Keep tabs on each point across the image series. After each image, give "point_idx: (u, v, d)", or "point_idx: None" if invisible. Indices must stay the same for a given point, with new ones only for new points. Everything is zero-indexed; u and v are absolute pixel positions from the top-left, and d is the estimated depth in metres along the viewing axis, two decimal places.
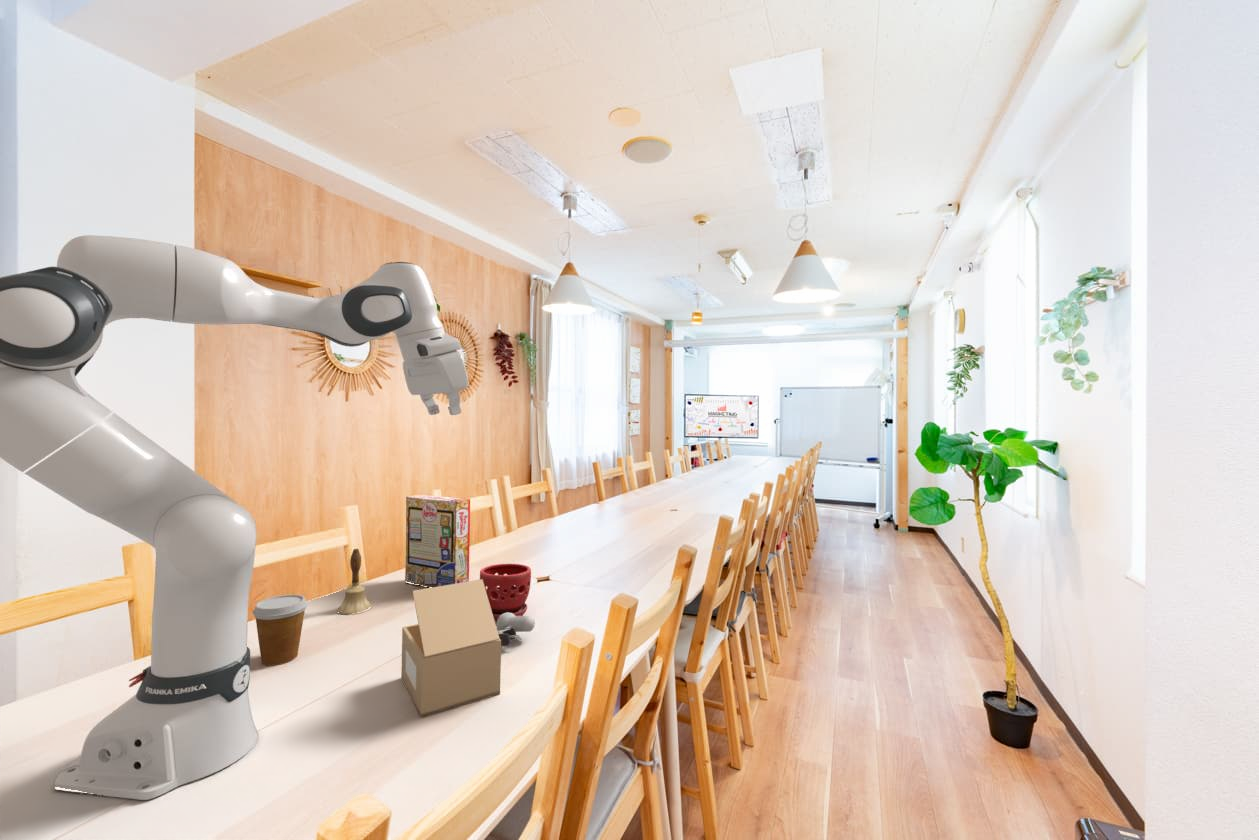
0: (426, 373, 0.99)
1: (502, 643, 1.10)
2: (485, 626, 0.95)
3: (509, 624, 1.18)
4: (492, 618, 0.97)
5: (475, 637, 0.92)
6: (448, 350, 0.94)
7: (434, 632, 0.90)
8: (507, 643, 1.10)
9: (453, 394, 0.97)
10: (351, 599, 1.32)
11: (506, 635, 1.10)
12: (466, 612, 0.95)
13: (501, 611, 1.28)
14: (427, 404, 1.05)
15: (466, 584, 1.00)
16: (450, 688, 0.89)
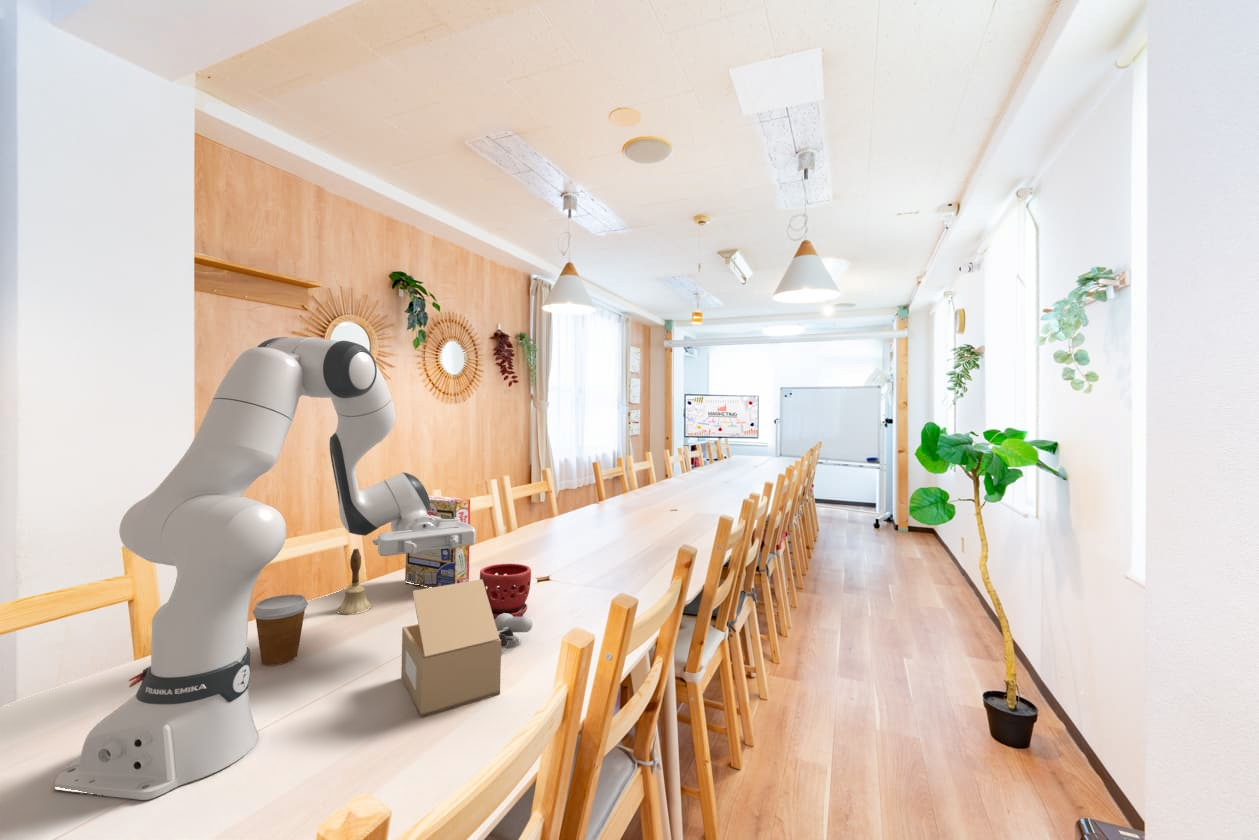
0: None
1: None
2: (485, 626, 0.95)
3: (506, 625, 1.18)
4: (492, 618, 0.97)
5: (475, 637, 0.92)
6: None
7: (434, 632, 0.90)
8: (504, 644, 1.09)
9: None
10: (351, 599, 1.32)
11: (503, 636, 1.09)
12: (466, 612, 0.95)
13: (501, 611, 1.28)
14: None
15: (466, 584, 1.00)
16: (450, 688, 0.89)
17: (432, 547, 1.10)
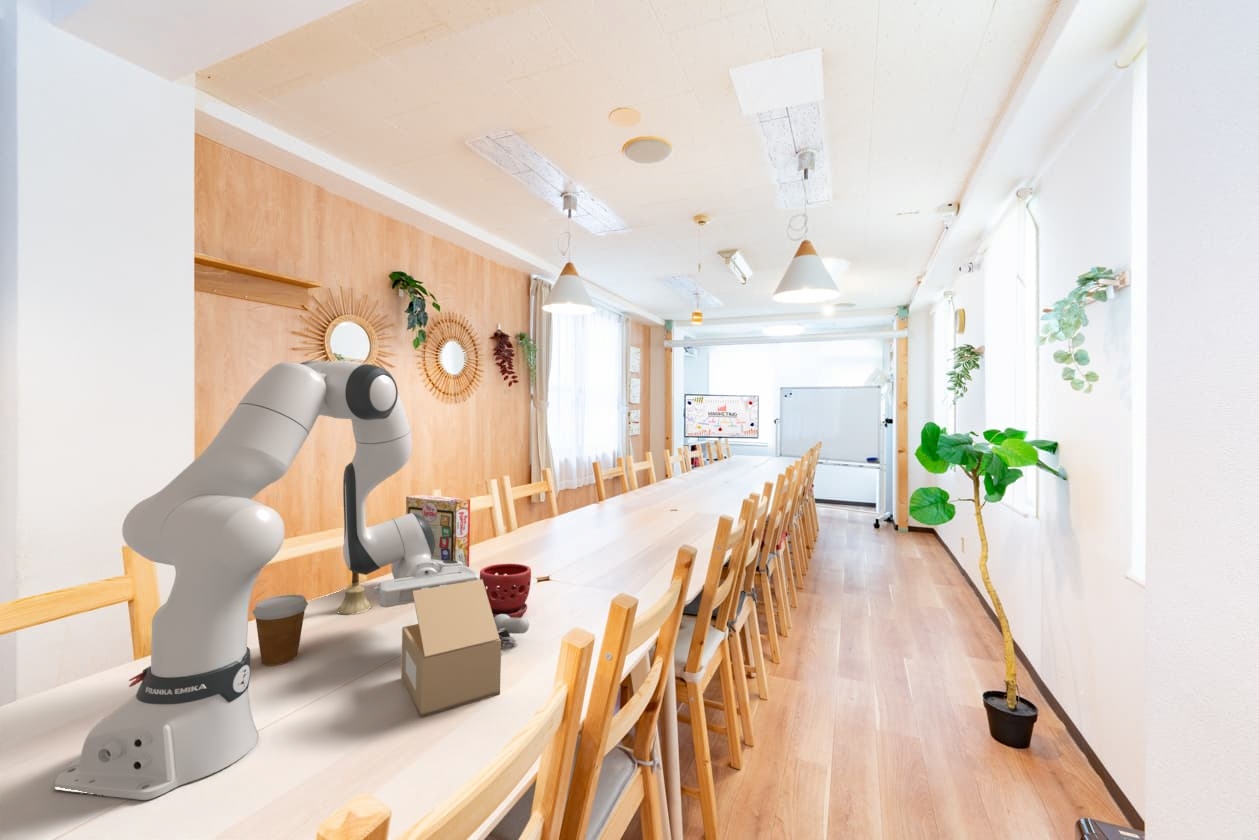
0: (432, 578, 1.10)
1: None
2: (485, 626, 0.95)
3: (503, 626, 1.17)
4: (492, 618, 0.97)
5: (475, 637, 0.92)
6: None
7: (434, 632, 0.90)
8: None
9: None
10: (351, 599, 1.32)
11: (499, 637, 1.09)
12: (466, 612, 0.95)
13: (501, 611, 1.28)
14: None
15: (466, 584, 1.00)
16: (450, 688, 0.89)
17: None
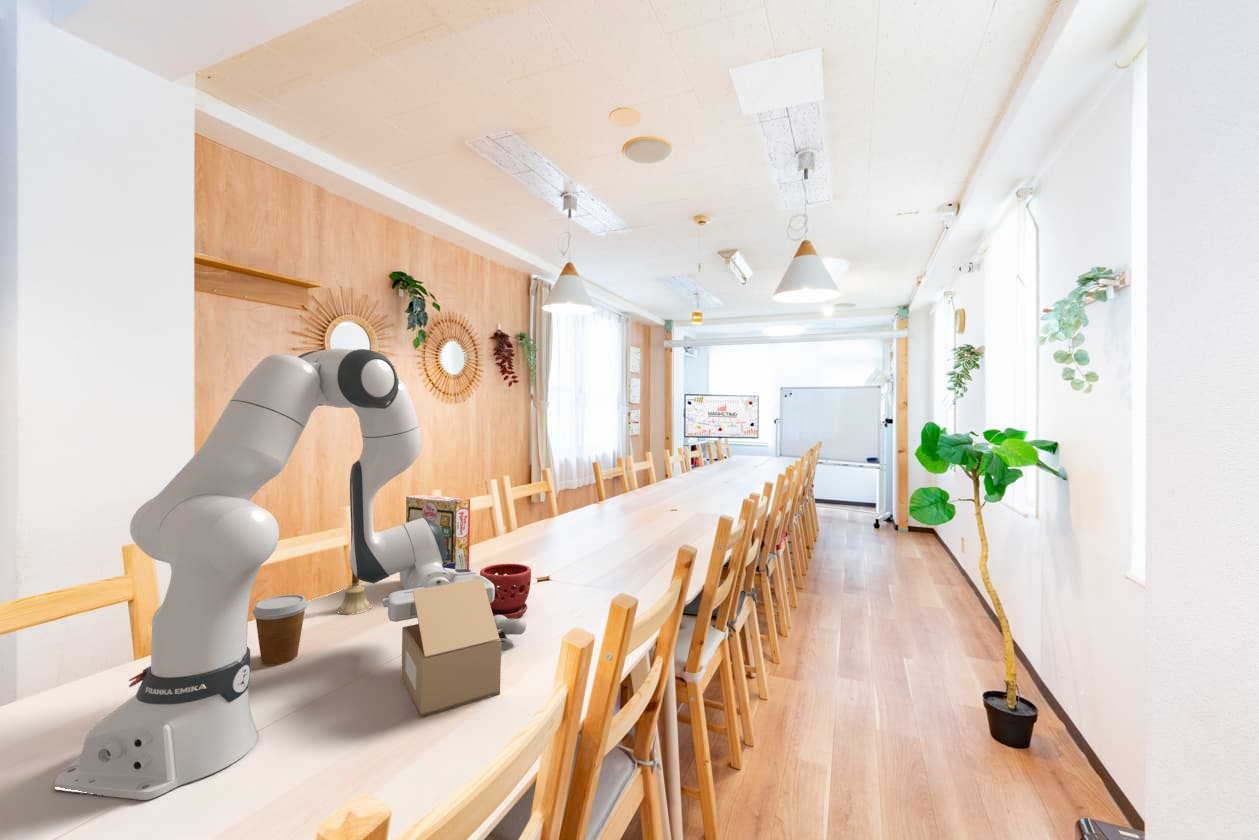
0: None
1: None
2: (485, 626, 0.95)
3: (500, 627, 1.16)
4: (492, 618, 0.96)
5: (475, 637, 0.92)
6: None
7: (434, 632, 0.90)
8: None
9: None
10: (351, 599, 1.32)
11: None
12: (466, 612, 0.95)
13: (501, 611, 1.28)
14: None
15: (466, 583, 1.00)
16: (450, 688, 0.89)
17: None
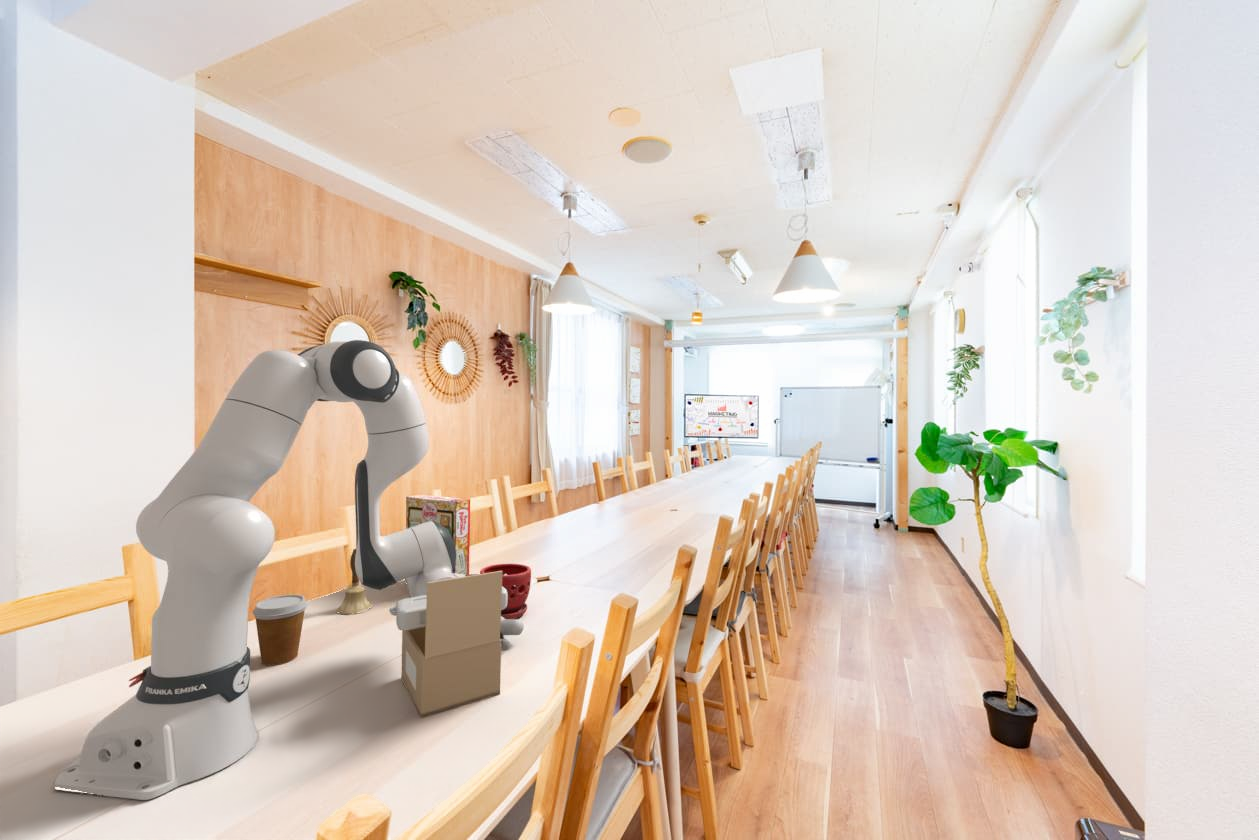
0: None
1: None
2: (490, 627, 0.93)
3: None
4: (499, 618, 0.94)
5: (477, 639, 0.91)
6: None
7: (439, 632, 0.87)
8: None
9: None
10: (351, 599, 1.32)
11: None
12: (476, 611, 0.91)
13: (501, 611, 1.28)
14: None
15: (484, 577, 0.92)
16: (450, 688, 0.89)
17: None
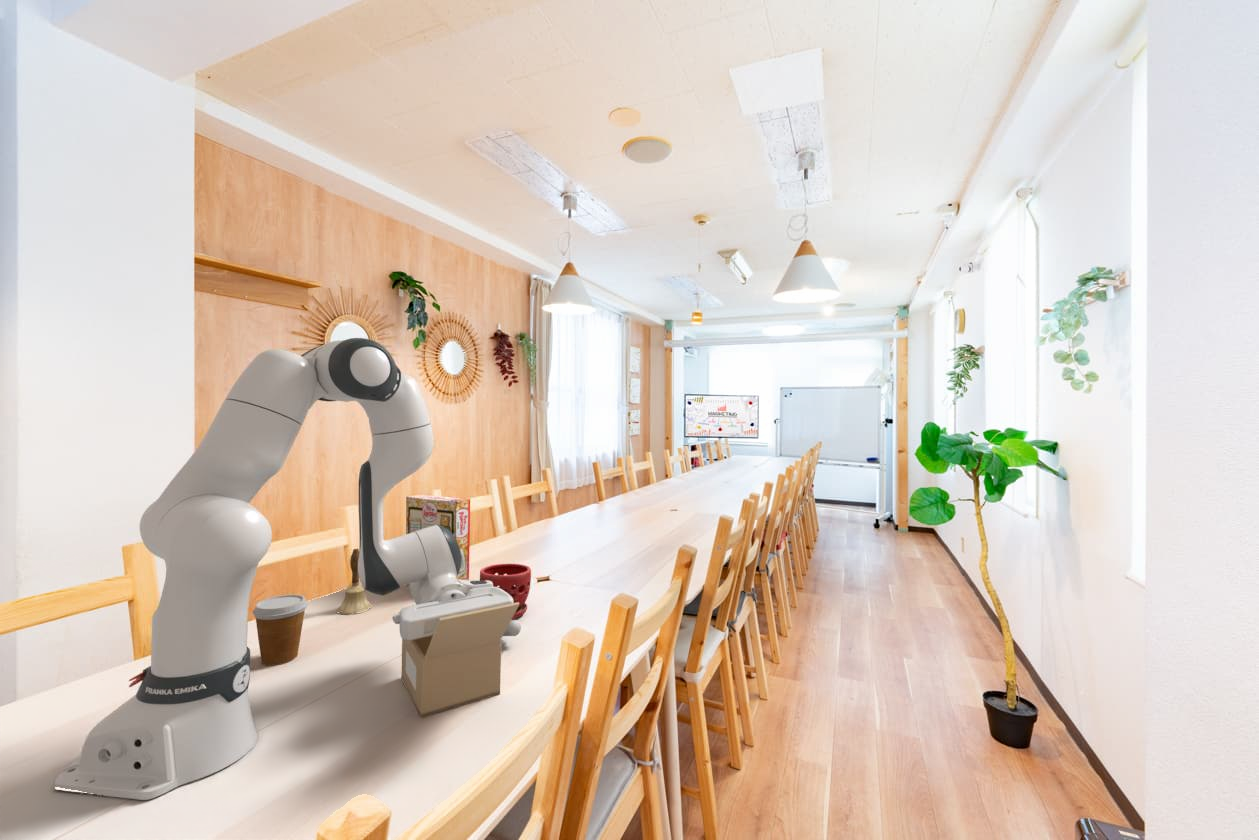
0: (459, 603, 0.95)
1: None
2: (493, 636, 0.91)
3: None
4: (504, 630, 0.92)
5: (478, 644, 0.91)
6: None
7: (443, 645, 0.85)
8: None
9: None
10: (351, 599, 1.32)
11: None
12: (483, 629, 0.88)
13: None
14: None
15: (499, 609, 0.85)
16: (450, 688, 0.89)
17: None
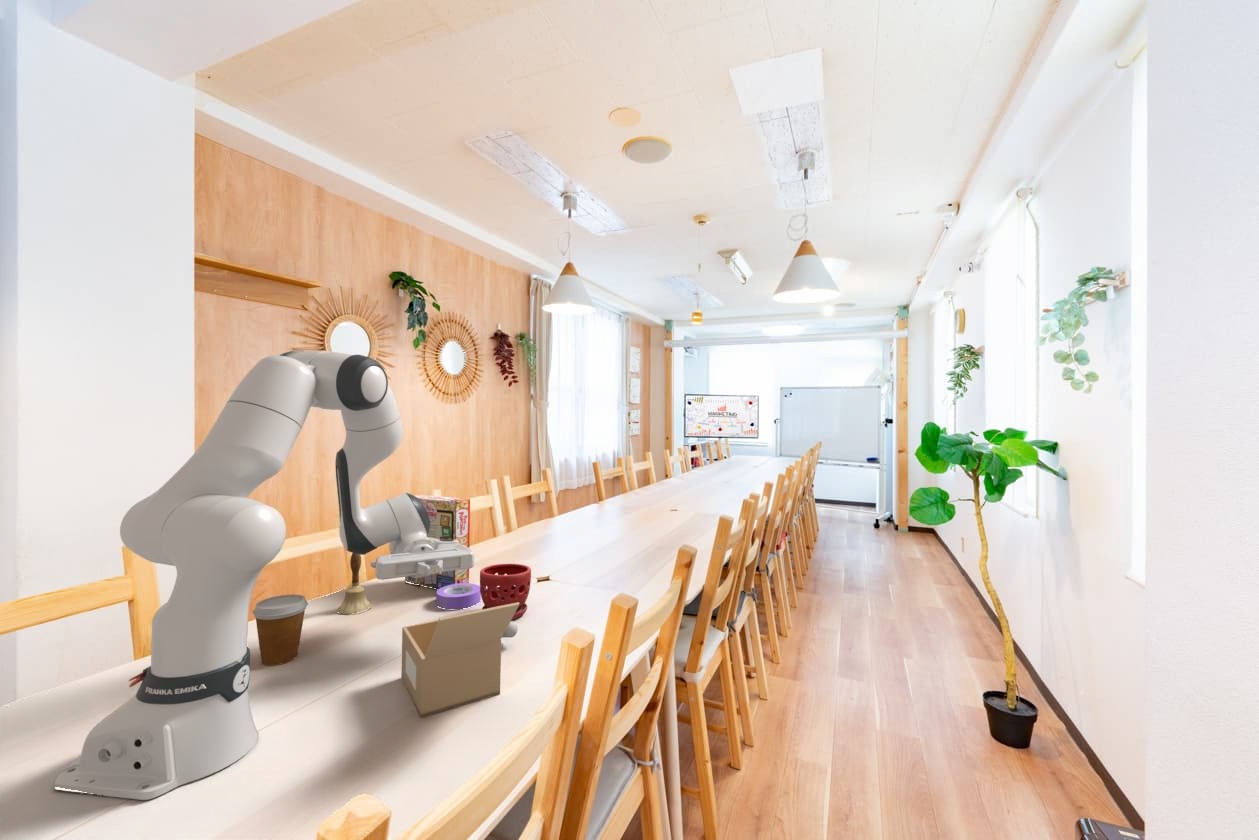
0: (428, 554, 1.13)
1: None
2: (493, 636, 0.91)
3: None
4: (504, 630, 0.92)
5: (478, 644, 0.91)
6: None
7: (443, 645, 0.85)
8: None
9: None
10: (351, 599, 1.32)
11: None
12: (483, 629, 0.88)
13: None
14: None
15: (499, 609, 0.85)
16: (450, 688, 0.89)
17: None
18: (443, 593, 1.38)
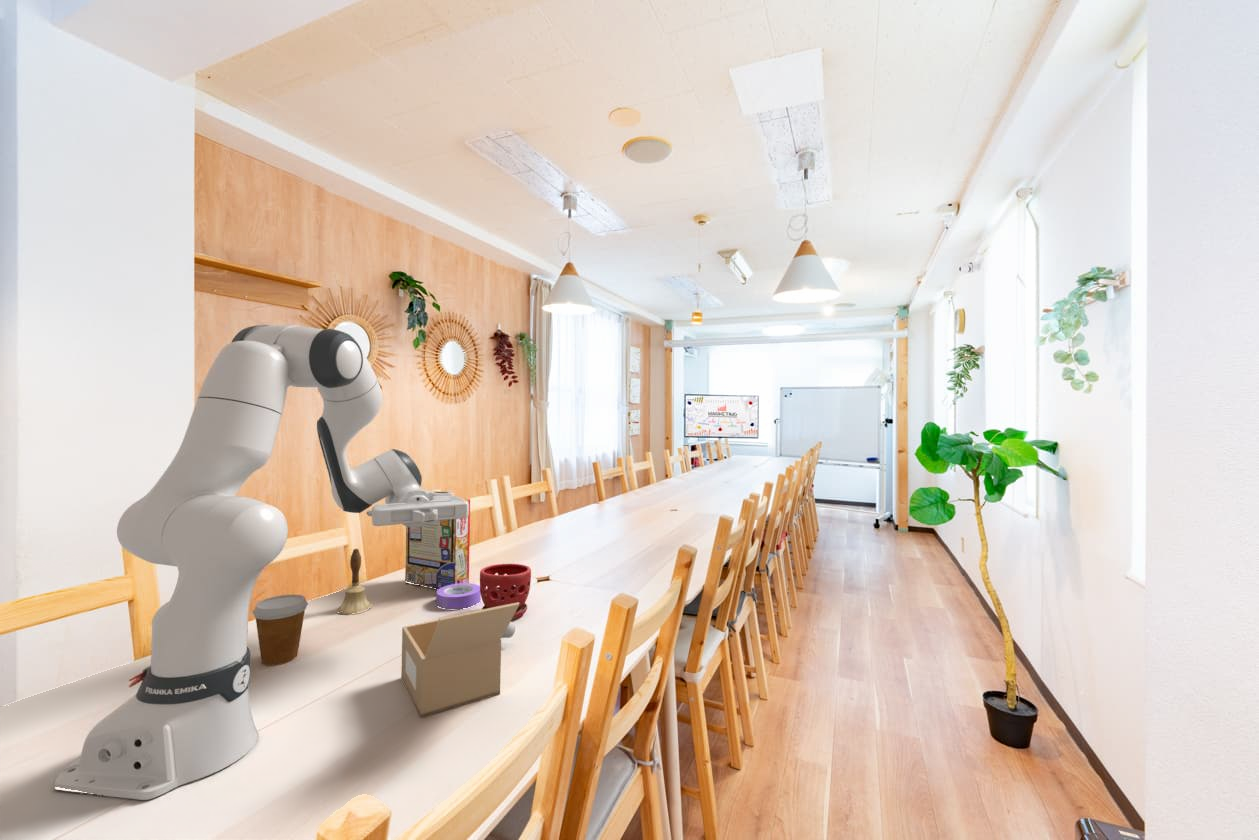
0: (423, 504, 1.15)
1: None
2: (493, 636, 0.91)
3: None
4: (504, 630, 0.92)
5: (478, 644, 0.91)
6: None
7: (443, 645, 0.85)
8: None
9: None
10: (351, 599, 1.32)
11: None
12: (483, 629, 0.88)
13: None
14: None
15: (499, 609, 0.85)
16: (450, 688, 0.89)
17: None
18: (443, 593, 1.38)
